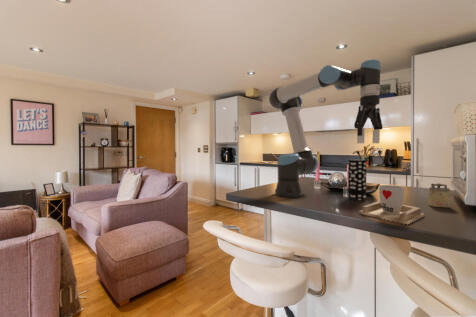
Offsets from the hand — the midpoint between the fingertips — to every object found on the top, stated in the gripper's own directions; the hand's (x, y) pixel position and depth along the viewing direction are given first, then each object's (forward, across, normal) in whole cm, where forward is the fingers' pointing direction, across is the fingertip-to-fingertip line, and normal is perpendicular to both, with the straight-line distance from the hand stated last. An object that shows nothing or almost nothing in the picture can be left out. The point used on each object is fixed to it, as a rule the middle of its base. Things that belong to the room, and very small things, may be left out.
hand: (368, 143), depth 97 cm
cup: (+27, -8, -13) cm, 31 cm away
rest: (+28, -8, -13) cm, 32 cm away
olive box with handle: (+28, +22, -20) cm, 41 cm away
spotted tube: (+29, +8, +9) cm, 31 cm away
